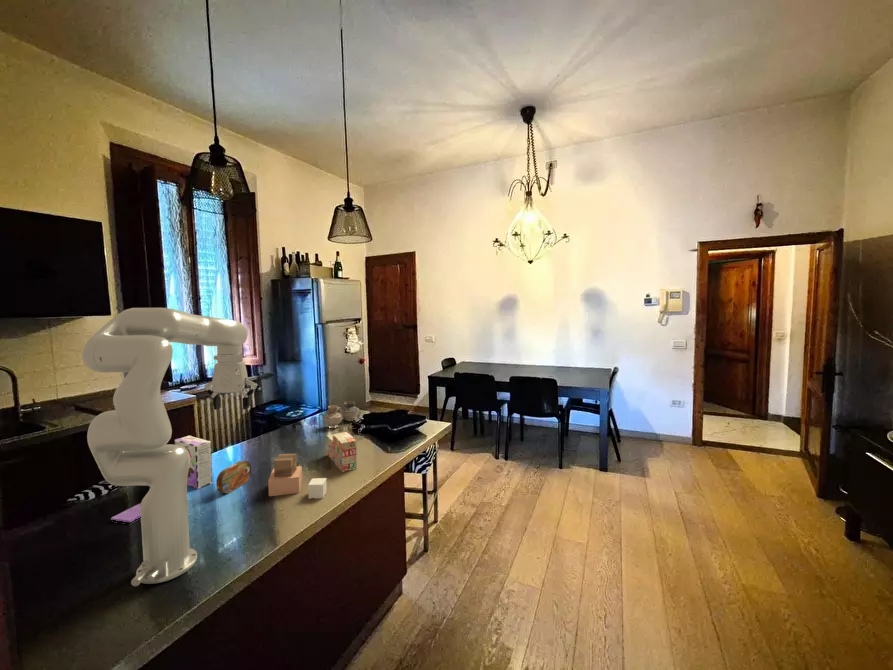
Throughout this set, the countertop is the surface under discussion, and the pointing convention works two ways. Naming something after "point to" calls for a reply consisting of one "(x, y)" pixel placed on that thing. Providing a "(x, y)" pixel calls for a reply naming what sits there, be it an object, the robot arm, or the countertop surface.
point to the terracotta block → (285, 483)
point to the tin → (233, 477)
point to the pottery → (345, 412)
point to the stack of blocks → (342, 450)
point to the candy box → (197, 461)
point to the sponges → (128, 514)
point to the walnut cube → (285, 465)
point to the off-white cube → (317, 488)
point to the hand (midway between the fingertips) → (231, 408)
